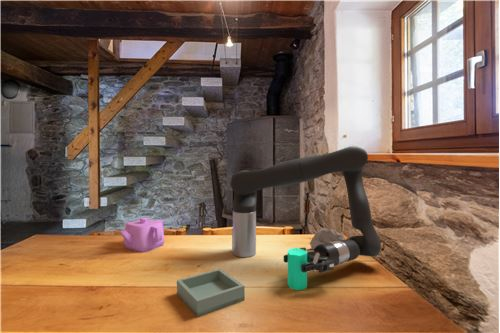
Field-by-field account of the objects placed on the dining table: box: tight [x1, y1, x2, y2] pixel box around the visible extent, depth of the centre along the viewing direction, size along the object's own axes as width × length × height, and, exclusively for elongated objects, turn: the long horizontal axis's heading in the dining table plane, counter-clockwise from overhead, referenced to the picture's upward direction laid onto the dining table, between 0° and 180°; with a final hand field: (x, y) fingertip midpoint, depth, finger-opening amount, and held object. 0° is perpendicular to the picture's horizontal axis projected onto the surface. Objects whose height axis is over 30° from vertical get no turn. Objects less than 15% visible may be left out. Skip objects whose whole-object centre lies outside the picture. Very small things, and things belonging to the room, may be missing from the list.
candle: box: [287, 246, 308, 291], centre depth 87 cm, size 6×6×12 cm
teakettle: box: [119, 217, 165, 253], centre depth 123 cm, size 17×17×12 cm
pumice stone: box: [309, 228, 346, 250], centre depth 117 cm, size 15×8×10 cm, turn 83°
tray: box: [176, 268, 246, 318], centre depth 80 cm, size 14×14×4 cm
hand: (292, 263), depth 86 cm, fingers open, 8 cm apart
